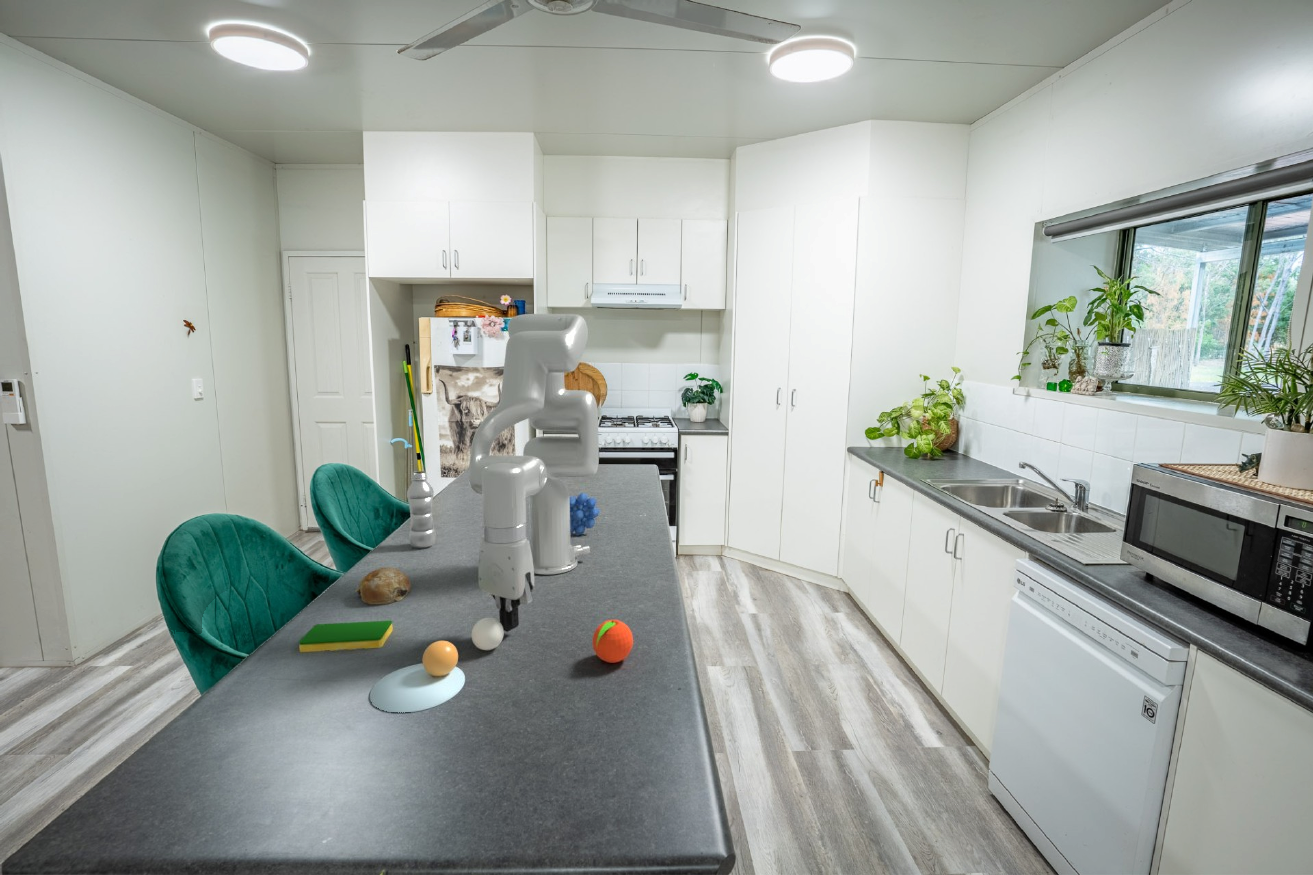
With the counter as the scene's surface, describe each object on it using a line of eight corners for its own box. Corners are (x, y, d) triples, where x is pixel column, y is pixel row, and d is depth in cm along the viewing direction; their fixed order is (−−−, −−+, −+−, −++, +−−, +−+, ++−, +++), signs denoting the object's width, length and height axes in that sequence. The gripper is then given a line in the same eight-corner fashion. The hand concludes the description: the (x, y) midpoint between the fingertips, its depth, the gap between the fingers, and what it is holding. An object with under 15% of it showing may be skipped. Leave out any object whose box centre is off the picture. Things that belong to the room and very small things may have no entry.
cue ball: (471, 617, 107) (464, 650, 106) (503, 623, 107) (496, 655, 106) (479, 612, 112) (472, 643, 112) (509, 618, 112) (502, 648, 112)
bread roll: (383, 624, 127) (396, 592, 126) (342, 600, 128) (354, 568, 127) (411, 604, 137) (423, 574, 135) (373, 582, 138) (384, 552, 136)
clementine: (614, 677, 100) (613, 636, 99) (580, 666, 104) (579, 626, 103) (641, 656, 107) (640, 617, 106) (608, 646, 110) (608, 608, 109)
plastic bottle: (413, 542, 167) (409, 470, 164) (439, 542, 167) (435, 469, 164) (406, 550, 160) (401, 475, 157) (433, 550, 161) (428, 474, 158)
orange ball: (446, 628, 103) (419, 644, 98) (468, 650, 101) (441, 667, 96) (439, 649, 105) (412, 666, 101) (460, 671, 104) (433, 689, 99)
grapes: (598, 529, 178) (597, 488, 177) (600, 536, 172) (599, 494, 170) (557, 531, 177) (556, 490, 175) (558, 538, 170) (556, 496, 168)
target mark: (455, 656, 107) (455, 655, 107) (473, 696, 95) (473, 695, 95) (366, 677, 100) (366, 675, 100) (373, 723, 88) (373, 722, 88)
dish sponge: (316, 635, 116) (315, 623, 115) (393, 631, 117) (392, 619, 117) (299, 654, 109) (297, 641, 108) (381, 650, 110) (380, 637, 110)
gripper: (460, 531, 112) (465, 626, 115) (521, 545, 104) (525, 646, 107) (491, 520, 118) (495, 611, 121) (551, 533, 111) (554, 629, 114)
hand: (509, 627), depth 114 cm, fingers closed
